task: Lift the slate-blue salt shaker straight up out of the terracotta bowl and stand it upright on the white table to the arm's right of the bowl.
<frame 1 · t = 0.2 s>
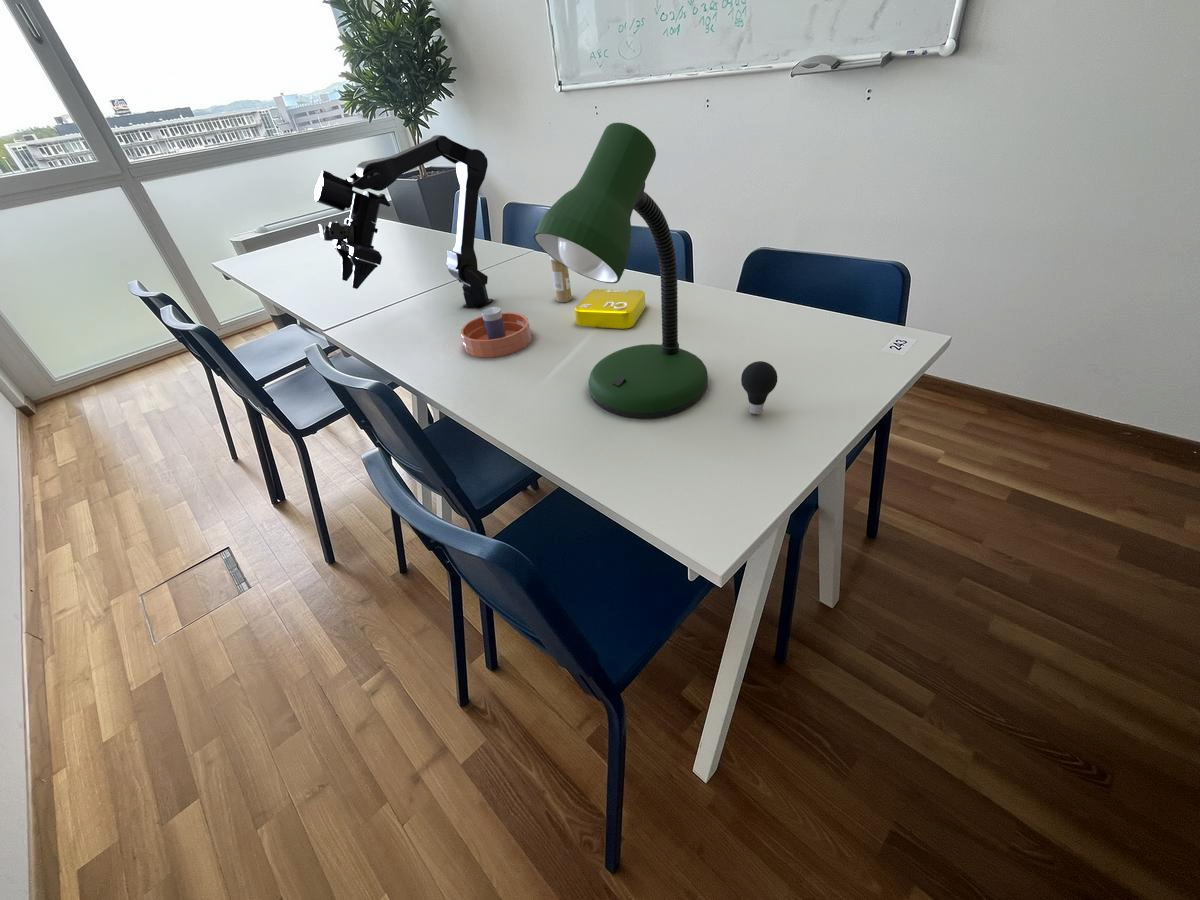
hand: (349, 284, 125), 15 cm above the table, tool tilted 30°, fingers open, 9 cm apart
element tile: (611, 316, 132), on the table
desk lamp: (634, 396, 100), on the table
salt shaker: (498, 342, 125), resting on bowl
light bulb: (755, 414, 91), on the table
sprinkles bottle: (564, 300, 144), on the table
bowl: (498, 343, 125), on the table
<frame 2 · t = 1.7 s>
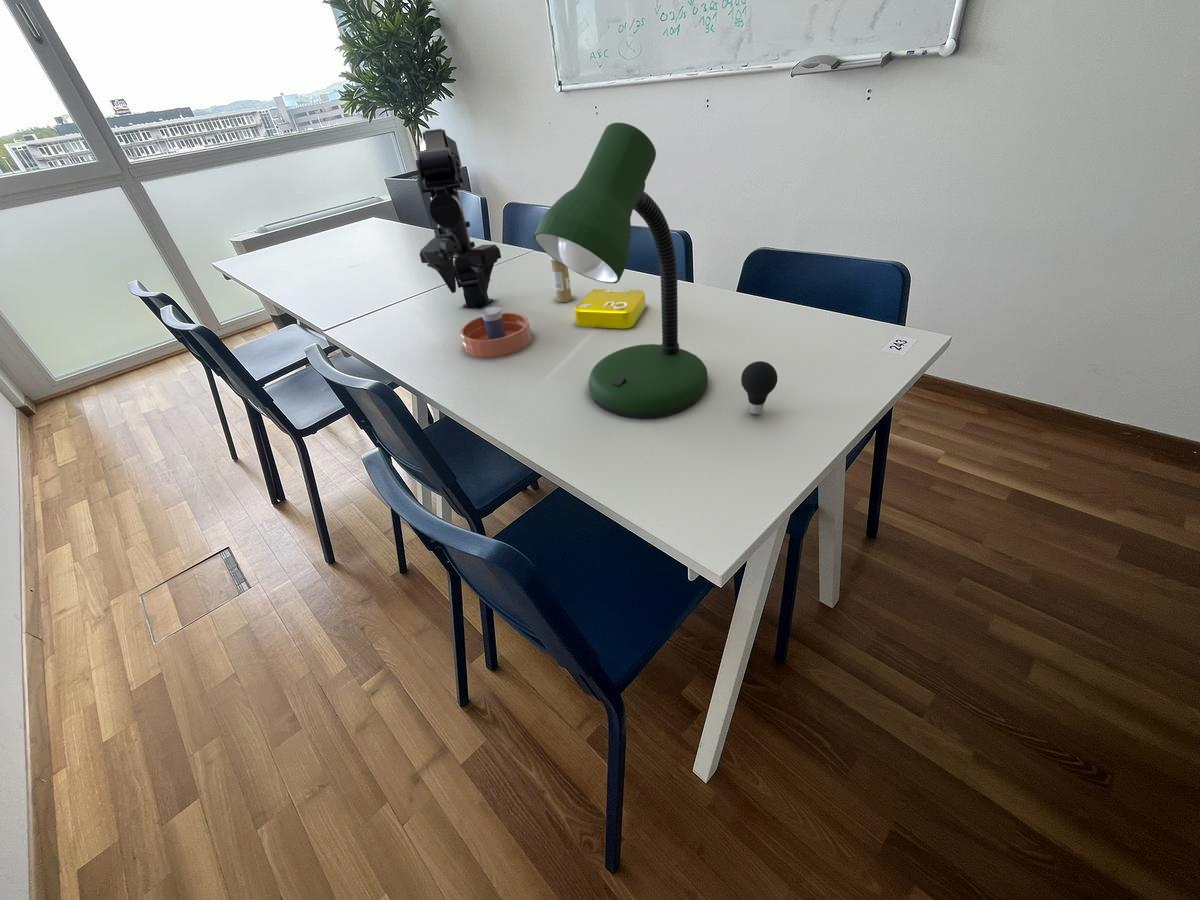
hand: (469, 293, 116), 13 cm above the table, tool pointing down, fingers open, 9 cm apart
nothing on the table moved.
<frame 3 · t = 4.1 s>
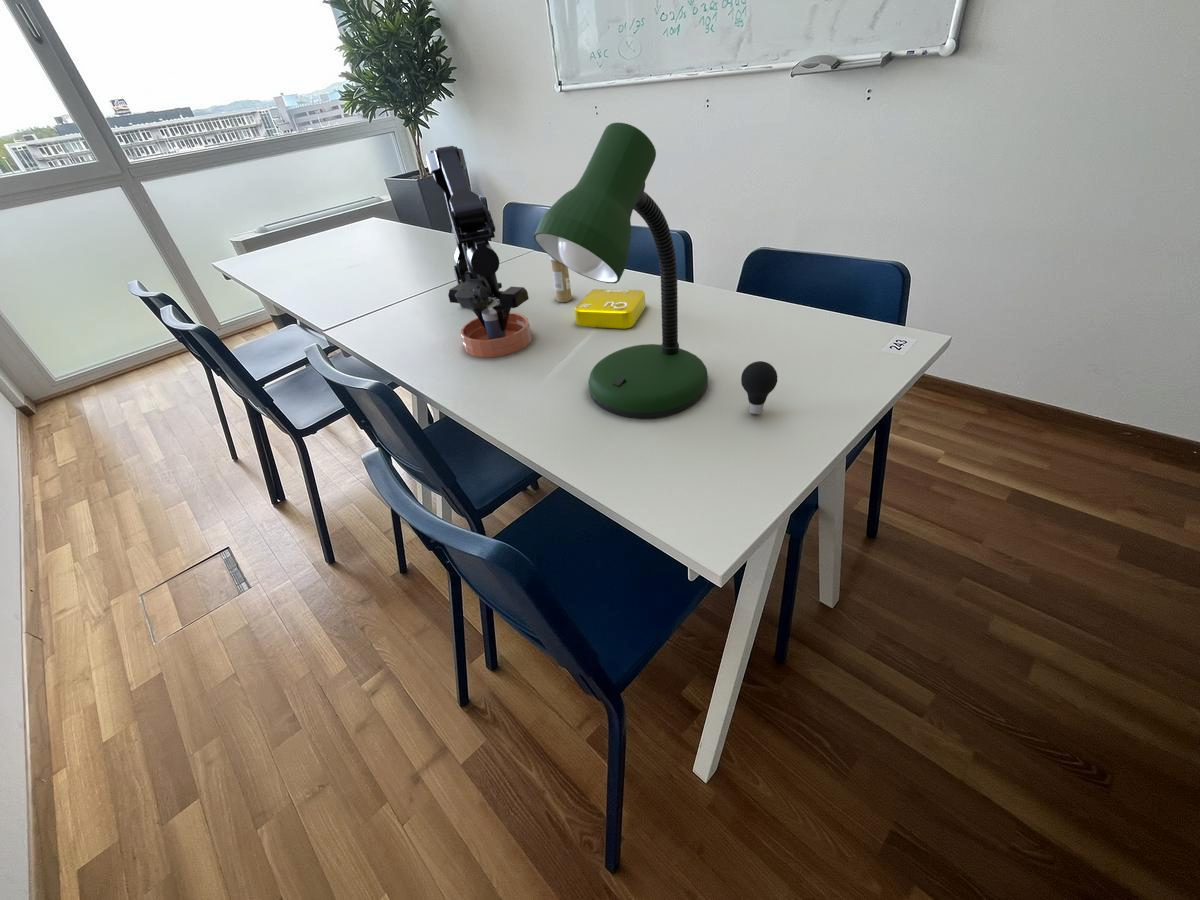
hand: (495, 329, 123), 4 cm above the table, tool pointing down, fingers closed on salt shaker, 4 cm apart
salt shaker: (498, 342, 125), resting on bowl, touching gripper
everything else where it was.
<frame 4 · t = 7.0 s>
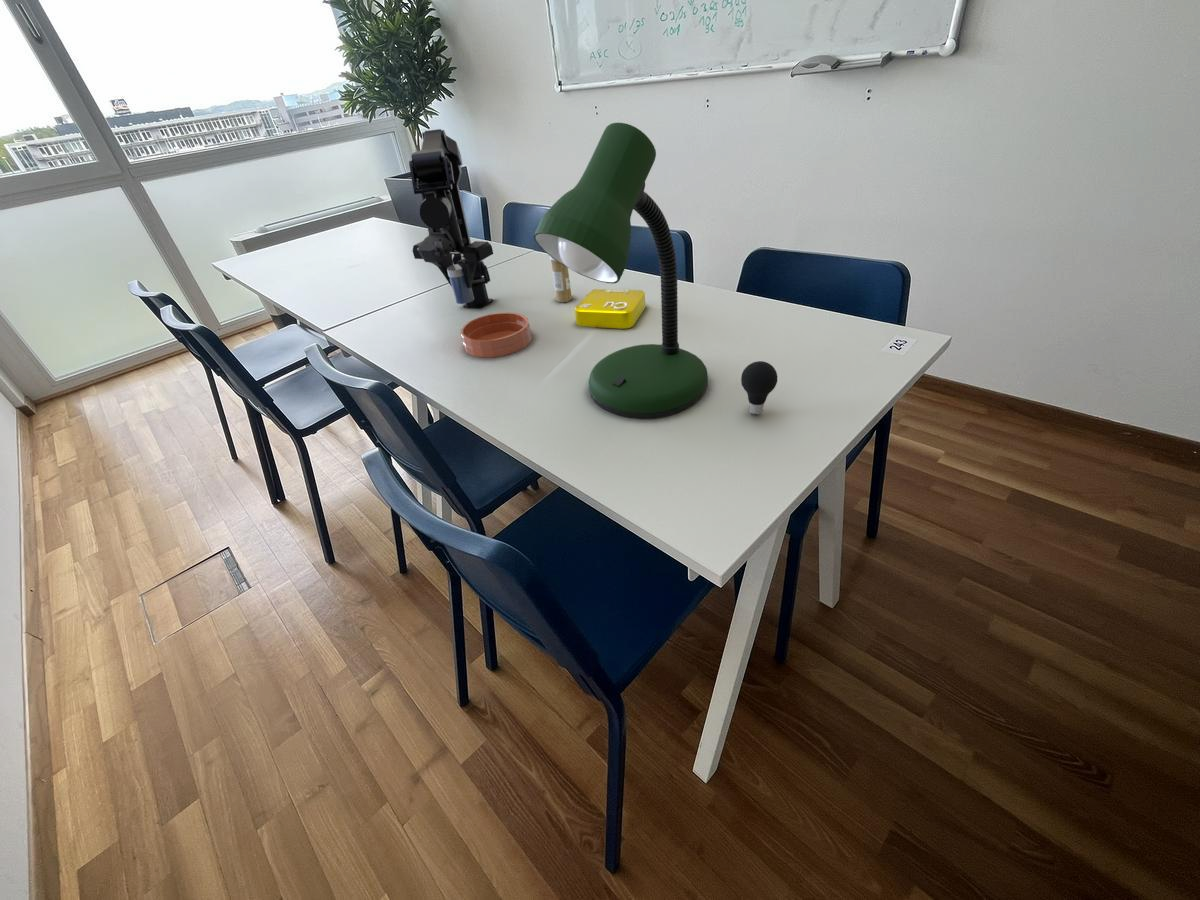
hand: (461, 287, 122), 13 cm above the table, tool pointing down, fingers closed on salt shaker, 4 cm apart
salt shaker: (465, 300, 124), point 10 cm above the table, touching gripper
everything else where it was.
when the fingers open (3 cm above the table, at t = 10.3 s): salt shaker stays where it is, on the table.
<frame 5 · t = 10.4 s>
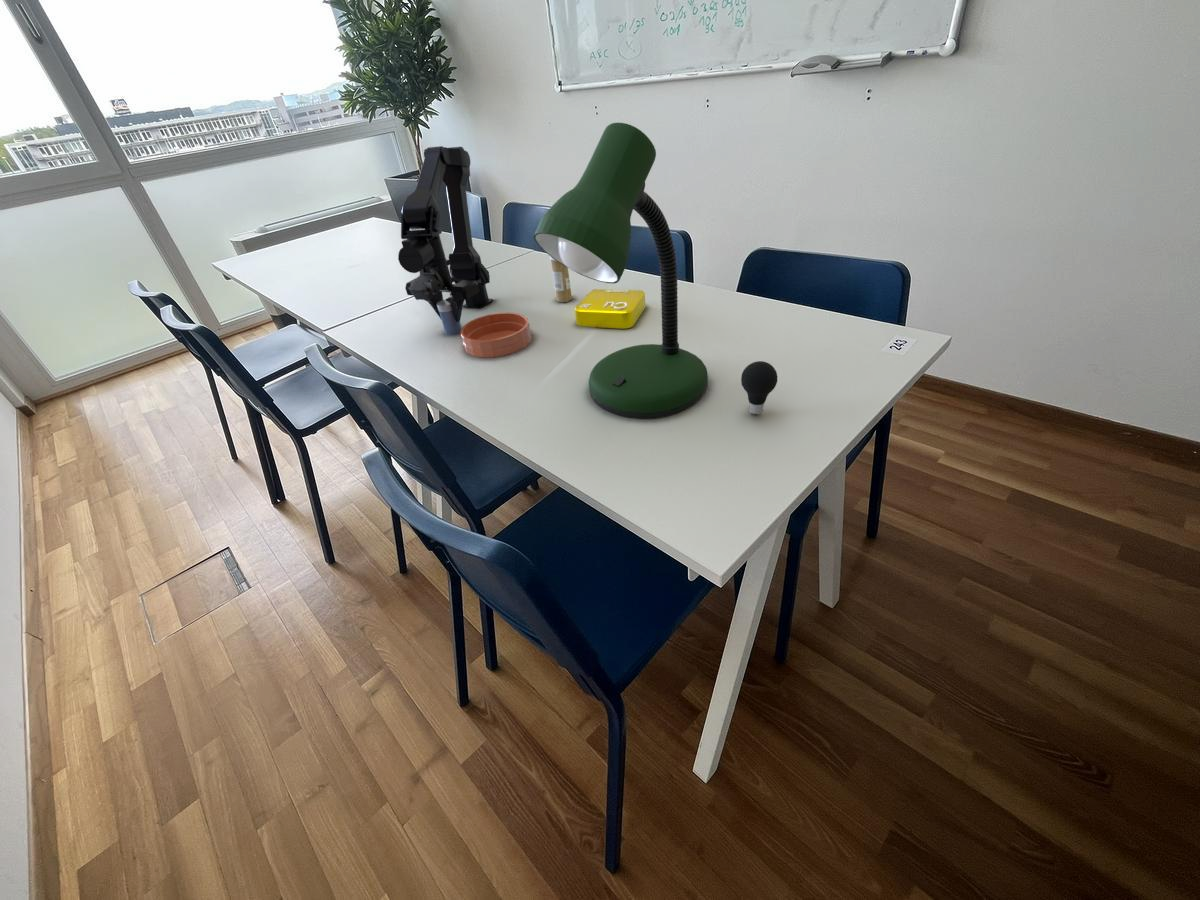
hand: (450, 320, 131), 3 cm above the table, tool pointing down, fingers open, 4 cm apart
salt shaker: (454, 332, 133), on the table
everything else where it was.
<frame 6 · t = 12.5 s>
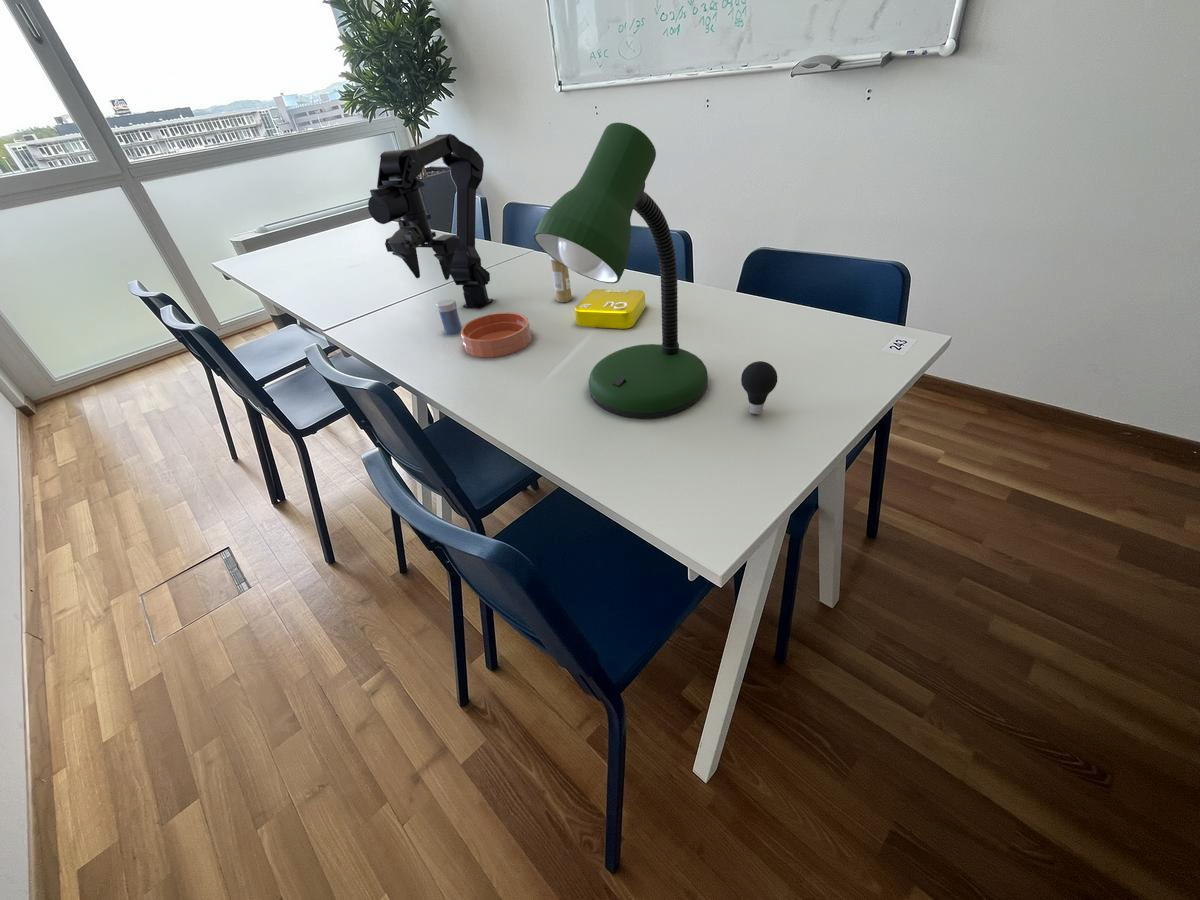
hand: (432, 278, 129), 13 cm above the table, tool pointing down, fingers open, 9 cm apart
nothing on the table moved.
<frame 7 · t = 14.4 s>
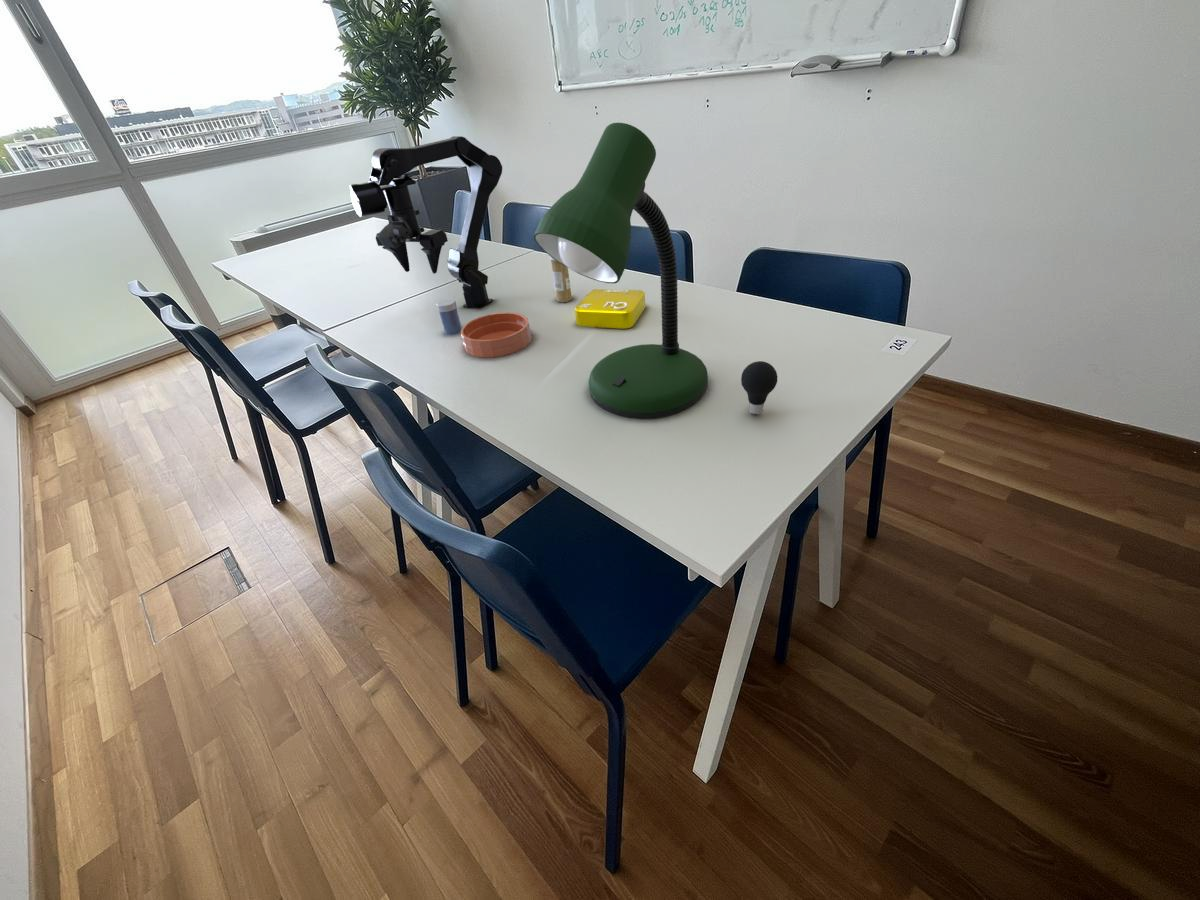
hand: (421, 272, 134), 13 cm above the table, tool pointing down, fingers open, 9 cm apart
nothing on the table moved.
at the end: salt shaker inside the target area (0.0 cm from its centre), on the table; salt shaker tilted 0°; salt shaker touching table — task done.
